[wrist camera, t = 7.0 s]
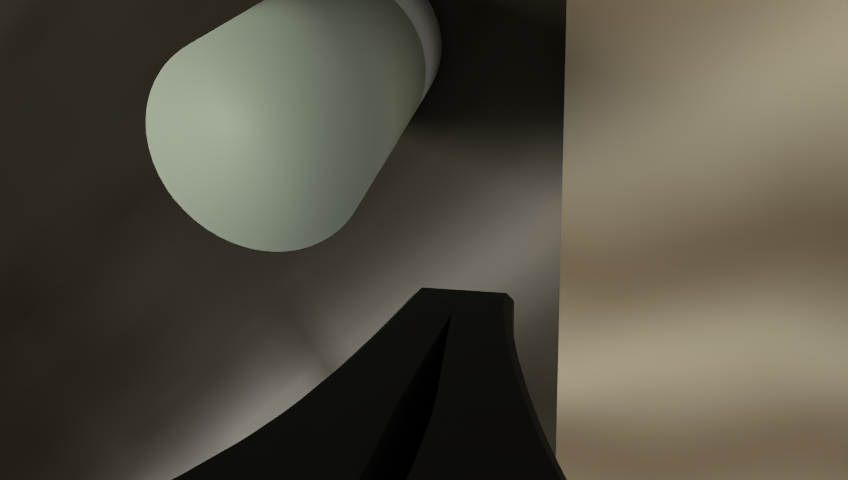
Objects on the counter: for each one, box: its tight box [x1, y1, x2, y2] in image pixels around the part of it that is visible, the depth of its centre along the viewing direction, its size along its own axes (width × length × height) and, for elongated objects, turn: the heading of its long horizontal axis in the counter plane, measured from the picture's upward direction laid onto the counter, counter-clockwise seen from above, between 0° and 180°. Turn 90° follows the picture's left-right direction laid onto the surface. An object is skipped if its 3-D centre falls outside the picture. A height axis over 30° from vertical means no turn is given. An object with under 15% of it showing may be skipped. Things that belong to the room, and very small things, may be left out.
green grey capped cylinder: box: [146, 0, 442, 252], centre depth 17 cm, size 4×4×7 cm
